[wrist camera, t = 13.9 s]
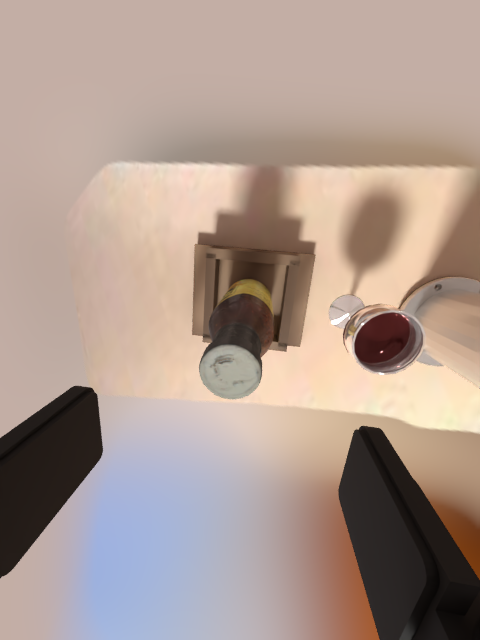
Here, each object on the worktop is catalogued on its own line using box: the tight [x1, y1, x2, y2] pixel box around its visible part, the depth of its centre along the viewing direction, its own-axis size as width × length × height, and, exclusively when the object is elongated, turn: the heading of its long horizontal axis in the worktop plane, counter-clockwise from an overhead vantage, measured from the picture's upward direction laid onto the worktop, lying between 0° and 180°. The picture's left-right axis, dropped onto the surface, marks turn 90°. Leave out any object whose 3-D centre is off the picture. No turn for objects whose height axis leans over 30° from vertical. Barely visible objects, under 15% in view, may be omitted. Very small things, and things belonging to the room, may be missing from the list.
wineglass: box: [329, 295, 425, 375], centre depth 29 cm, size 7×7×12 cm
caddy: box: [192, 244, 315, 352], centre depth 33 cm, size 16×13×4 cm
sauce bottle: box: [199, 278, 274, 399], centre depth 24 cm, size 6×6×20 cm
